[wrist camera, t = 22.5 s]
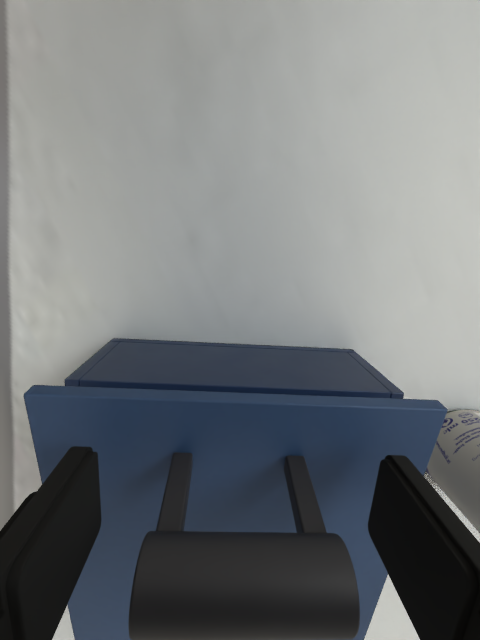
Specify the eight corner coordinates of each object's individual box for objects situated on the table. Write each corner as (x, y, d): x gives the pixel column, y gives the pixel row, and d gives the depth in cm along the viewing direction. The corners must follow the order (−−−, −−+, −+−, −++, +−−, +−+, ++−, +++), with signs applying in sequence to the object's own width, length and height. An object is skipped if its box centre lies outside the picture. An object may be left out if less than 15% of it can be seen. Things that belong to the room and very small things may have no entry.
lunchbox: (113, 337, 18) (63, 379, 12) (352, 349, 19) (404, 392, 13) (120, 546, 22) (85, 648, 16) (321, 548, 22) (351, 646, 17)
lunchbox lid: (33, 384, 10) (-152, 554, 5) (437, 399, 11) (609, 560, 6) (84, 649, 16) (18, 854, 11) (352, 647, 17) (404, 837, 12)
